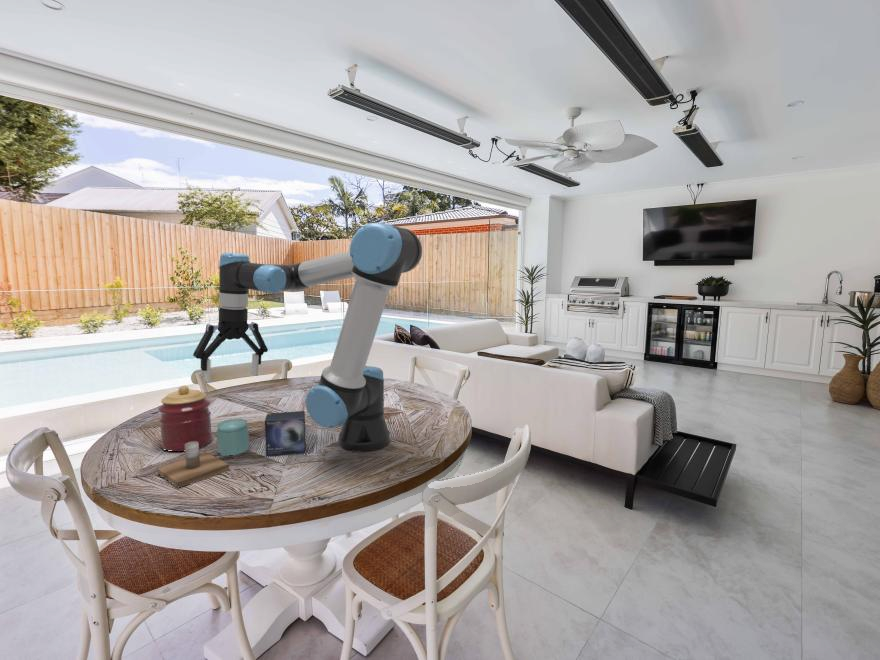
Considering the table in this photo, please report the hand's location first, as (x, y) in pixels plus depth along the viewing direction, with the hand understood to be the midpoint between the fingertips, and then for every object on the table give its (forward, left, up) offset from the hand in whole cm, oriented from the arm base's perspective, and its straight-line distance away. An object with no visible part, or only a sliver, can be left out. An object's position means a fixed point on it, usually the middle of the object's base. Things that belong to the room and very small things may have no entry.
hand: (231, 378), depth 125 cm
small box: (-19, -5, -19) cm, 28 cm away
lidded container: (-7, +4, -19) cm, 21 cm away
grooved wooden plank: (-12, +17, -19) cm, 28 cm away
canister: (+8, +10, -19) cm, 23 cm away
